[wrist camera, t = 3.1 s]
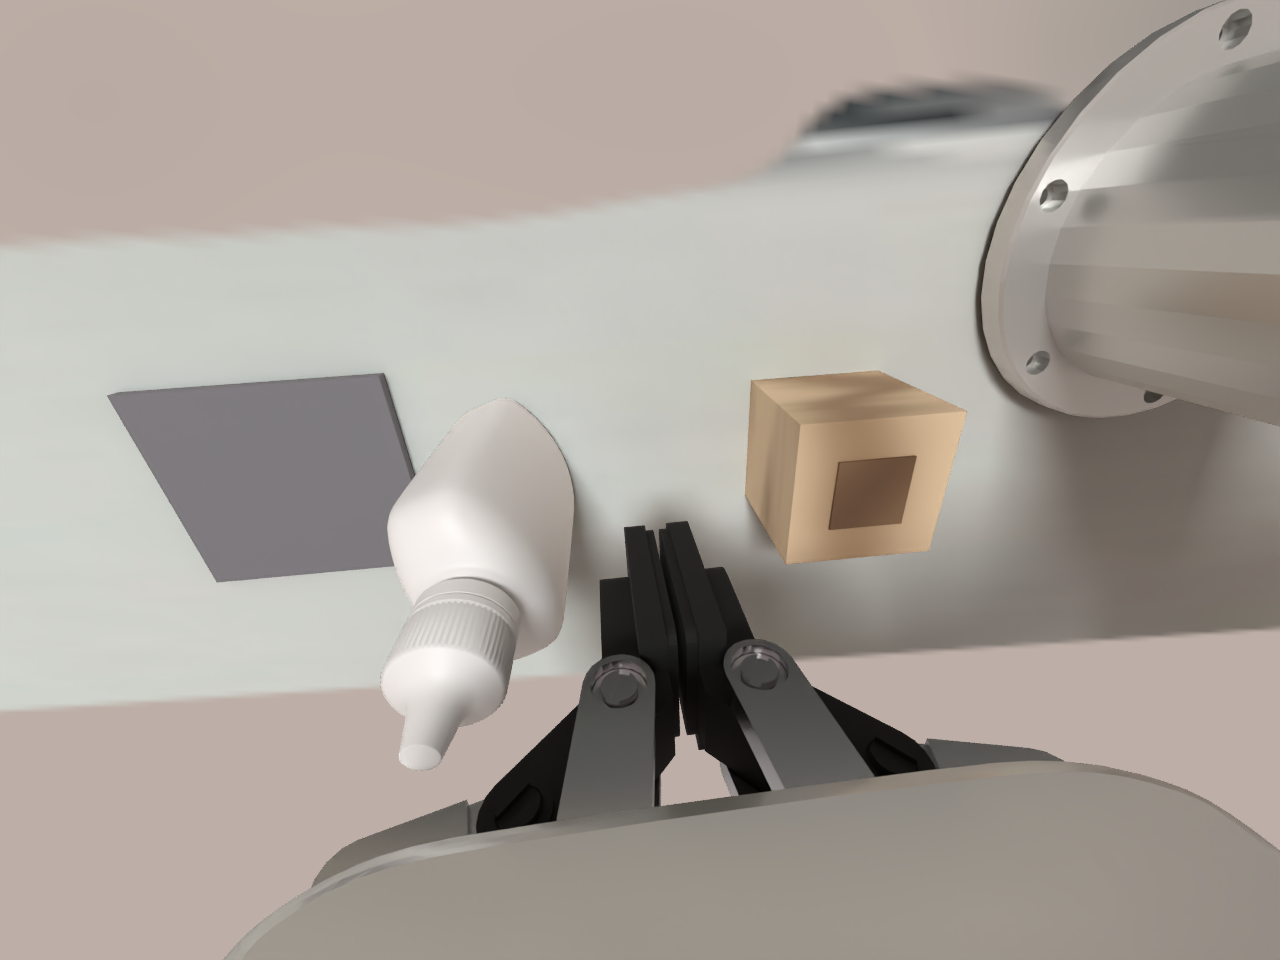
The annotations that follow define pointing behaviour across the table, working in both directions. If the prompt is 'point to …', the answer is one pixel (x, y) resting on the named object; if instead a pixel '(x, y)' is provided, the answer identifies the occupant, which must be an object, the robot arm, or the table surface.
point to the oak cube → (848, 464)
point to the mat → (276, 470)
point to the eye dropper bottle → (476, 572)
